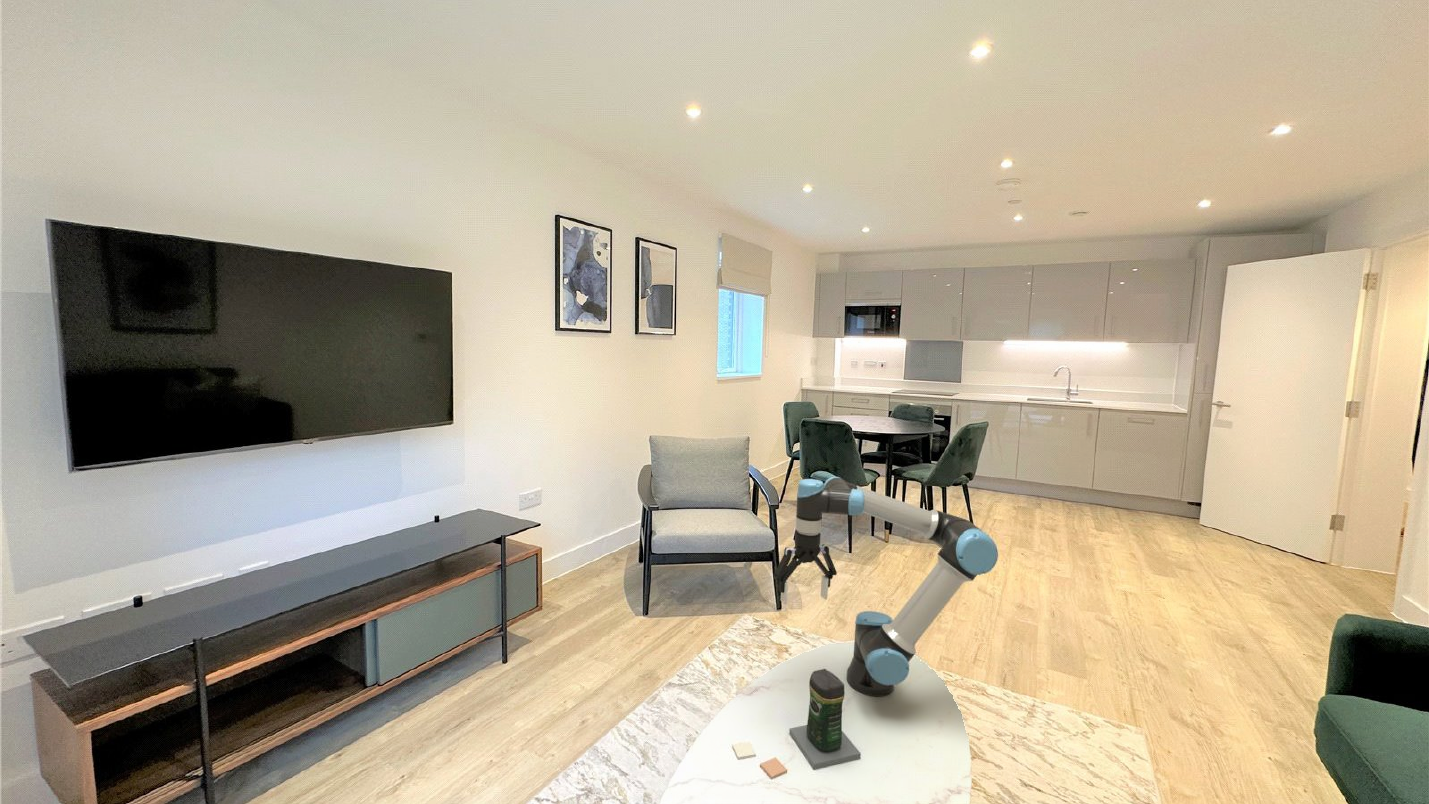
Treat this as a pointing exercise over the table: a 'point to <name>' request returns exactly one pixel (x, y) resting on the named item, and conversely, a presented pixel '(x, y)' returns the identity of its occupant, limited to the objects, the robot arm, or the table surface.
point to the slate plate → (823, 757)
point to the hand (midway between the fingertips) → (804, 600)
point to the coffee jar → (825, 710)
